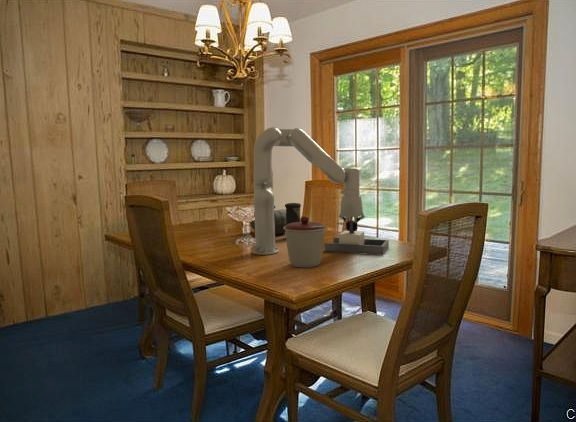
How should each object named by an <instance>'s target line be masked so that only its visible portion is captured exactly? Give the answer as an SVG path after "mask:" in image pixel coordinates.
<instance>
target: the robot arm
mask: <svg viewBox="0 0 576 422" xmlns="http://www.w3.org/2000/svg"><path fill="white" fill-rule="evenodd" d="M253 146H254V147H253V174H252V175H253V193H254V194H253V211H254V212H253V213H254V217H255V230H254V242H255V243H254V244H255V247H254V248H252V250H251V252H252V253H253V254H254V255H259V256H260V255H261V256H262V255H263V256H264V255H265V256H266V255H274V254H277V253H279V249H278V248H277V247H276V235H275V222H274V211H275V208H274V206H275V195H274V182H273V180H274V178H273V177H274V173H273V172H274V171H273V165H272V164H273V161H272V160H273V159H272V158H273V155H272V154H273V153H272V151H273V148H274V147H293V148H295V149H296V150H297V151H298V152H299V153H300V154H301V155H302V156H303V157H304V158H305V159H306V160H307V161H308V162H309V163H311V165H313V166H315V167H316V168H318V169H319V170H320V171H321V172H322V173H323V174H324V175H325V176H326V177H327V179H328V181H329V182H331V183H332V184H335V185H336V184H337V185H339V184H342V183H343V190H341V191H340V194H343V195H342V196H341V199H340V200H341V202H340V213H339V215H338V218H340V219H342V220H343V221H344V222H345V227H346V231H349V221H350V218H353V219H354V220H353V221H354V223H353V231H357V230H358V222H359V221H361V220H363V219H364V218H365V217H366V216H365V214H364V212H363V202H362V201H363V200H362V195H360V169H359V168H358V167H355V166H354V167H345V168H344V167H342V166H340V165H339V164H338V162H336V160H334V159H333V157H331V156H330V155H329V154H328V153H327V152H326V151H325V150H324V149H323V148H322V147H321V146H320V145H319V144H318V143H317V142H316V141H315V140H314V139H312V138H311V137H310V135H309V134H307V132H306V131H304V129H302V128H300V127H295V128H289V129H288V128H286V129H285V128H277V127H274V126H273V127H268V128H266V129H264V130H263V131H262V132H260V134H258V136H257V138H256V139H255V142H254V145H253Z"/></svg>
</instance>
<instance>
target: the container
mask: <svg viewBox="0 0 576 422" xmlns="http://www.w3.org/2000/svg"><path fill="white" fill-rule="evenodd" d="M284 207H285V210H286V225H287V224H289V223H294V222H301V207H302V205H301V203H299V202H288V203H285V205H284Z"/></svg>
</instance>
